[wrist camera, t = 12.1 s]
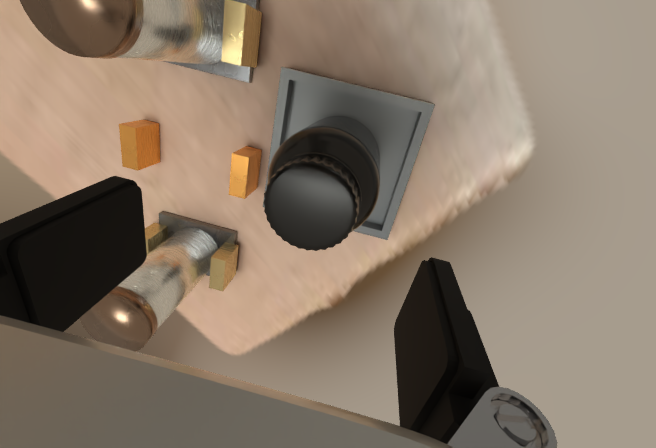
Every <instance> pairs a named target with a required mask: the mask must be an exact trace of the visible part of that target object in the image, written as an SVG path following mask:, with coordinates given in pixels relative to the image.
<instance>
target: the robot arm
mask: <svg viewBox="0 0 656 448" xmlns="http://www.w3.org/2000/svg"><path fill="white" fill-rule="evenodd" d="M146 257H147V250H146V238H145V227H144V215H143V203H142V192H141V189H140V187H138V186H137V184H136V182H135V181H133V180H129V179H125V178H121V177H117V176H113V177H110V178H108V179H105V180H103V181H100V182H98V183H96V184H93V185H91V186H89V187H86V188H84V189H81V190H79V191H77V192H74V193H72V194H70V195H67V196H65V197H62V198H60V199H58V200H55V201H53V202H51V203H48V204H46V205H43V206H41V207H39V208H36V209H34V210H32V211H29V212H27V213H24V214H22V215H20V216H17V217H15V218H13V219H10V220H8V221H5V222H3V223H1V224H0V448H557V440H556V437H555V433H554V430H553V429H552V427H551V425H550V423H549V421H548V420H547V419H546V417H545V416H544V415H543V414H542V412H541V411H540V410H539V409H538V408H537V407H536V406H535V405H534V404H533V403H532V402H530V401H529V400H528V399H526V398H525V397H524V396H522V395H520V394H519V393H517V392H515V391H513V390H510V389H508V388H503V387H499V385H498V382H497V380H496V377H495V375H494V372H493V369H492V367H491V364H490V361H489V359H488V356H487V354H486V351H485V348H484V346H483V343H482V341H481V338H480V335H479V333H478V330H477V327H476V325H475V322H474V319H473V317H472V314H471V313H470V311H469V310H468V309H467V307H466V304H465V302H464V299H463V296H462V294H461V291H460V288H459V286H458V283H457V280H456V277H455V275H454V272H453V269H452V267H451V264H450V262H447V261H443V260H439V259H435V258H430V259H429V260H428V261H425V260H424V261H422V263H421V265H420V267H419V269H418V272H417V274H416V276H415V278H414V281H413V283H412V285H411V287H410V290H409V292H408V294H407V297H406V299H405V301H404V303H403V306H402V308H401V310H400V312H399V315H398V317H397V319H396V322H395V327H394V338H395V354H396V369H397V385H398V400H399V416H400V426H397V425H394V424H391V423H388V422H384V421H381V420H378V419H374V418H371V417H368V416H364V415H361V414H357V413H354V412H350V411H347V410H344V409H341V408H337V407H334V406H331V405H327V404H324V403H320V402H316V401H312V400H309V399H306V398H302V397H298V396H295V395H291V394H288V393H284V392H280V391H277V390H273V389H270V388H266V387H263V386H259V385H255V384H252V383H248V382H245V381H241V380H238V379H234V378H230V377H227V376H223V375H219V374H216V373H212V372H209V371H204V370H201V369H198V368H194V367H190V366H187V365H183V364H179V363H176V362H172V361H168V360H165V359H161V358H157V357H154V356H150V355H146V354H143V353H139V352H135V351H132V350H128V349H124V348H121V347H117V346H113V345H110V344H106V343H102V342H98V341H95V340H91V339H87V338H83V337H80V336H76V335H72V334H68V333H65V332H64V331H65V330H66V329H67V328H68V327H70V326H71V325H72V324H73V323H74V322H75V321H77V320H78V319H79V318H80V317H81V316H83V315H84V314H85V313H86V312H87V311H88V310H90V309H91V308H92V307H93V306H94V305H95V304H97V303H98V302H99V301H100V300H101V299H103V298H104V297H105V296H106V295H107V294H108V293H110V292H111V291H112V290H113V289H114V288H115V287H117V286H118V285H119V284H120V283H121V282H123V281H124V280H125V279H126V278H127V277H128V276H130V275H131V274H132V273H133V272H134V271H135V270H137V269H138V268H139V267H140V266H141V265H142V264H143V263H144V262H145V260H146Z"/></svg>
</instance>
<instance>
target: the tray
mask: <svg viewBox="0 0 656 448" xmlns="http://www.w3.org/2000/svg"><path fill="white" fill-rule="evenodd" d="M434 106H435V104H433V103H430V102H426V101H422V100H418V99H414V98H410V97H405V96H401V95H397V94H393V93H389V92H385V91H381V90H377V89H373V88H369V87H365V86H361V85H357V84H353V83H348V82H344V81H340V80H336V79H332V78H328V77H324V76H320V75H316V74H312V73H308V72H304V71H300V70H296V69H291V68H287V67H281V74H280V82H279V89H278V97H277V104H276V112H275V120H274V127H273V135H272V142H271V150H270V157H269V165H268V171H269V166H270V163H271V160H272V158H273V156H274V154H275V152H276V151H277V149H278V148H279V147H280V146H281V145H282V144H283V143H284V142H285V141H286V140H287V139H288V138H289V137H291V136H292V135H294V134H295V133H297V132H299V131H300V130H302V129H304V128H306V127H308V126H309V125H311V124H313V123H315V122H317V121H318V120H321V119H323V118H326V117H330V116H346V117H350V118H353V119H355V120H357V121H359V122H361V123H362V124H364V125H365V126H366V127H367V128H368V129H369V130H370V131H371V133H372V134H373V136H374V137H375V139H376V141H377V144H378V147H379V152H380V191H379V196H378V200H377V203H376V206H375V208H374V210H373V212H372V213H371V215H370V216H369V218H368V219H367V220H366V221H365V222H364V223H363V224H362V225H361V226H359V227H358V228H357V229H355V230H354V231H355V232H359V233H363V234H366V235H370V236H374V237H378V238H381V239H385V240H388V237H389V234H390V231H391V228H392V225H393V222H394V220H395V217H396V214H397V211H398V208H399V205H400V203H401V200H402V197H403V194H404V191H405V188H406V185H407V183H408V180H409V177H410V174H411V171H412V168H413V166H414V163H415V160H416V157H417V154H418V151H419V148H420V146H421V143H422V140H423V137H424V134H425V131H426V129H427V126H428V123H429V120H430V117H431V114H432V112H433V109H434ZM267 184H268V172H267V180H266V187H265V192H266V190H267ZM264 200H265V197H264ZM263 207H265V206H264V203H263Z"/></svg>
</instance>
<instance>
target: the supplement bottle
mask: <svg viewBox="0 0 656 448" xmlns="http://www.w3.org/2000/svg"><path fill="white" fill-rule="evenodd" d="M379 191H380V152H379V147H378V144H377V141H376V139H375V137H374V136H373V134H372V133H371V131H370V130H369V129H368V128H367V127H366V126H365V125H364V124H362V123H361V122H359V121H357V120H355V119H353V118H350V117H346V116H330V117H326V118H323V119H321V120H318V121H317V122H315V123H313V124H311V125H309V126H308V127H306V128H304V129H302V130H300V131H299V132H297V133H295V134H294V135H292V136H291V137H289V138H288V139H287V140H286V141H285V142H284V143H283V144H282V145H281V146H280V147H279V148H278V149H277V151H276V152H275V154H274V156H273V158H272V160H271V163H270V166H269V171H268V184H267V190H266V192H265V193H264V197H265V200H264V202H263V203H264V206H265V210H264V211H265V213H266V215H267V220H268V222H269V223H270V225H271V228H272V229H274V230H275V232H276V234H277V235H279V236H281V238H282V239H283V240H284V241H287V242H288V243H289V244H290V245H293V246H296V247H298V248H304V249H306V250H315V251H317V250H320V249H322V250H325V249H327V248H328V247H334V246H335V245H336V244H339V243H341V241H342V240H343V239H345V238H347V237H348V234H349V233H350V232H352V231H354V230H355V229H357V228H358V227H359V226H361V225H362V224H363V223H364V222H365V221H366V220H367V219H368V218H369V216H370V215H371V213H372V212H373V210H374V208H375V206H376V203H377V200H378V196H379Z"/></svg>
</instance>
